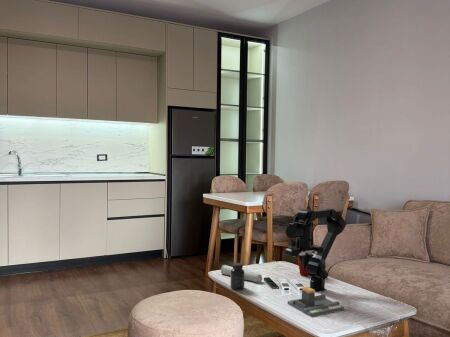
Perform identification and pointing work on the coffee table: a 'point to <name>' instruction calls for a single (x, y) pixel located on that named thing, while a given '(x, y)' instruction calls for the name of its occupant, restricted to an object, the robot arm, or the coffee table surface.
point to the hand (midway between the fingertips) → (304, 268)
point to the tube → (247, 274)
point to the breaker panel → (317, 306)
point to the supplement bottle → (237, 277)
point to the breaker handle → (308, 296)
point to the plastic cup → (302, 271)
